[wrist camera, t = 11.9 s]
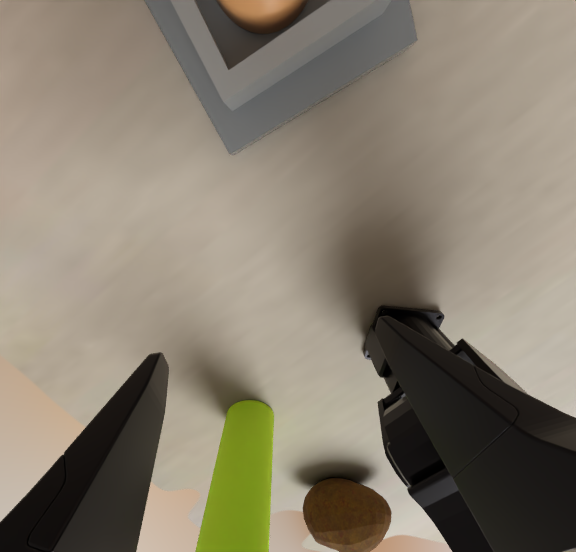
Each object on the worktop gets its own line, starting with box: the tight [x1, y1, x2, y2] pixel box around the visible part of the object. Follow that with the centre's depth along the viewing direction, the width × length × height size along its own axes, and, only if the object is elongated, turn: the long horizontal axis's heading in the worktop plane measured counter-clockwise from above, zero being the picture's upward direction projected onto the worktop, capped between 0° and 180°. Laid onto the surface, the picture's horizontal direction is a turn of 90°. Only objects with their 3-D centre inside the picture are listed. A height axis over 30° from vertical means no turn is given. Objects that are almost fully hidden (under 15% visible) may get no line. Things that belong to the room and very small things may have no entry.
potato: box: [303, 478, 391, 552], centre depth 33 cm, size 8×12×8 cm, turn 102°
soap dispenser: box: [196, 400, 274, 552], centre depth 21 cm, size 6×7×20 cm
